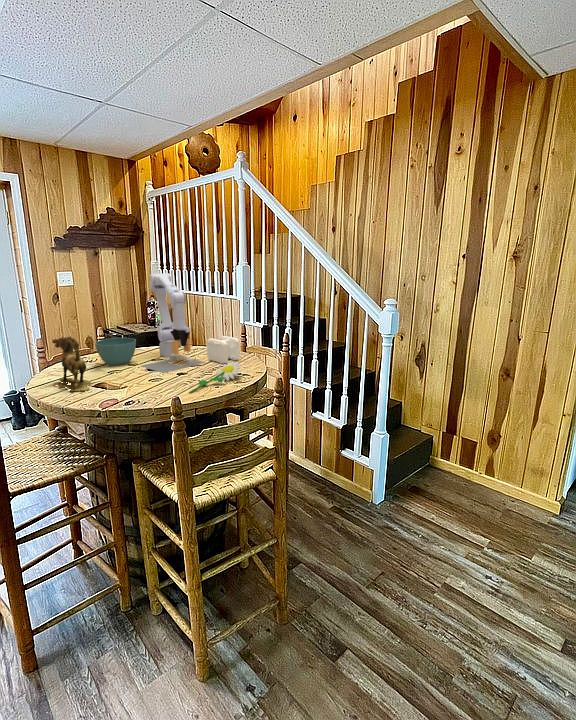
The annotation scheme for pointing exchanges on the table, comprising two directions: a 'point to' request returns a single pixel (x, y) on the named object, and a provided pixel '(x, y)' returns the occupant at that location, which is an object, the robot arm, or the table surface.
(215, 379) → the decorative flower
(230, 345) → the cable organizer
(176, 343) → the orange arch block
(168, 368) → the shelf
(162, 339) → the robot arm
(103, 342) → the plant pot
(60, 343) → the figurine
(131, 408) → the table surface
